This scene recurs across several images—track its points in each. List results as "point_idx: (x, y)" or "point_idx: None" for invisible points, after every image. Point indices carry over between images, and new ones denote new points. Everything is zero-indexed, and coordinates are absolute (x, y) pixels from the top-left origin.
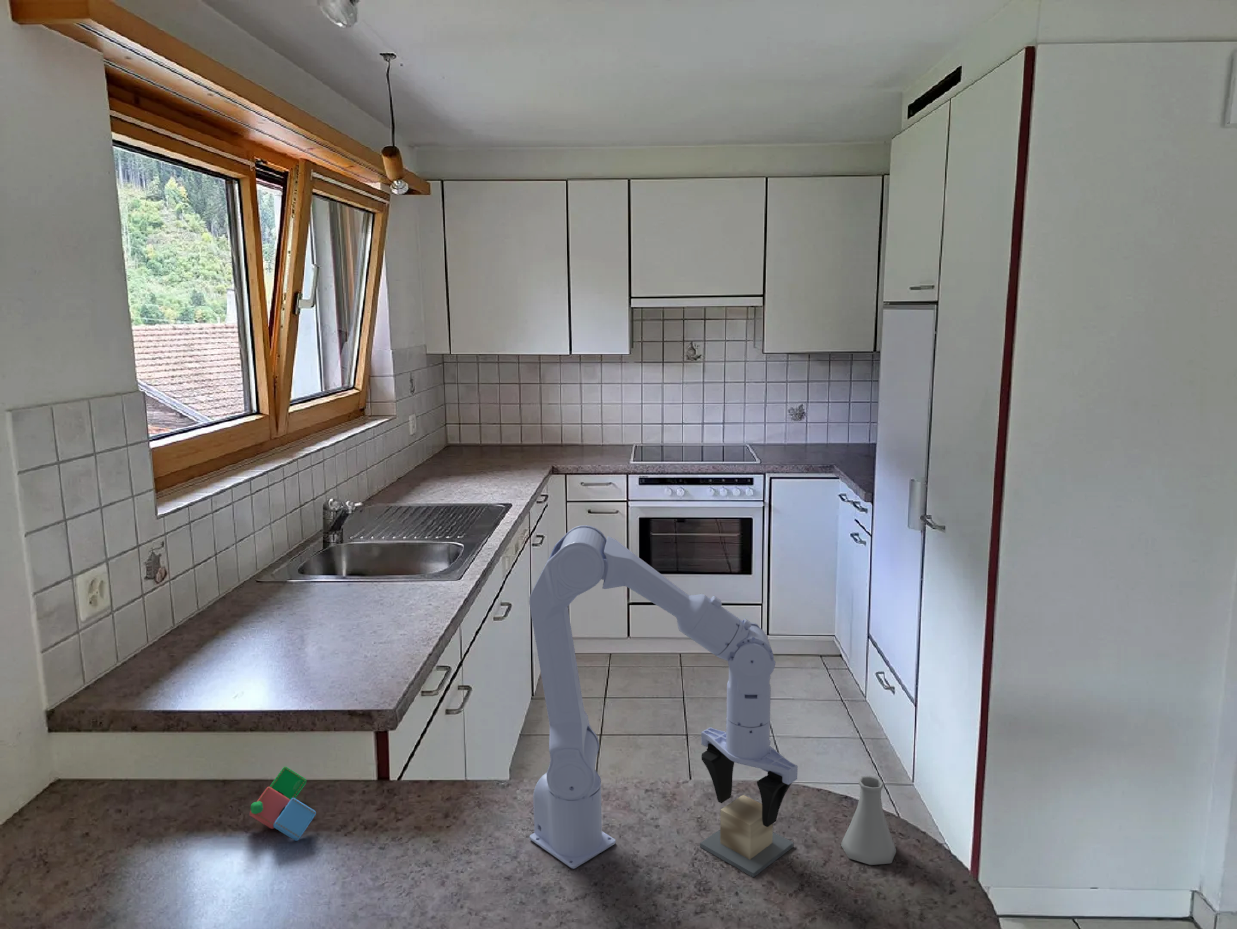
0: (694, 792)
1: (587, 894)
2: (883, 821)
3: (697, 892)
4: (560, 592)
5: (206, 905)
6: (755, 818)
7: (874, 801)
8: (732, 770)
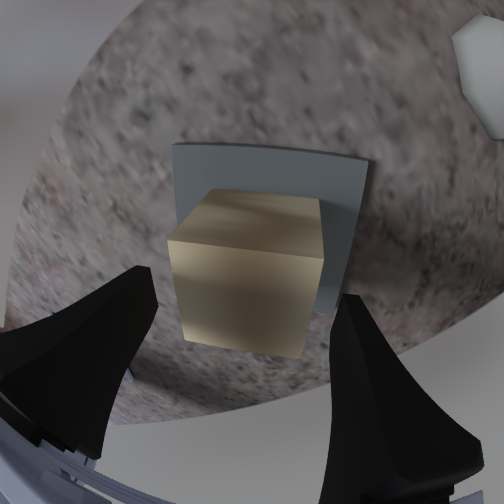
0: (54, 143)
1: (176, 397)
2: None
3: (269, 366)
4: None
5: None
6: (295, 331)
7: None
8: (85, 324)
